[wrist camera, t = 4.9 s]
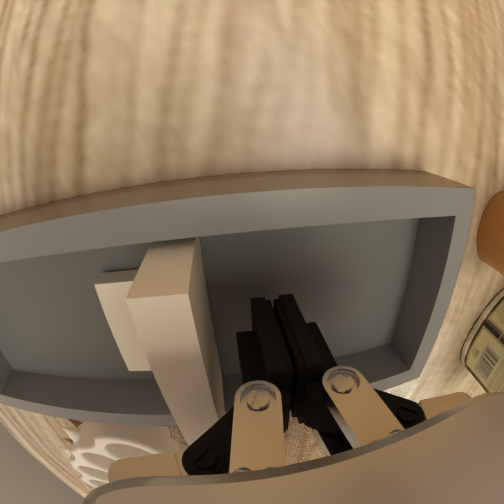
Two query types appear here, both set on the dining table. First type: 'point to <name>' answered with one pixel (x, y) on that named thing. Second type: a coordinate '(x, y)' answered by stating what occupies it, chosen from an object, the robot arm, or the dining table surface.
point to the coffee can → (487, 347)
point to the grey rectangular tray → (230, 277)
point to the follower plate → (169, 330)
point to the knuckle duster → (114, 447)
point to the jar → (492, 234)
